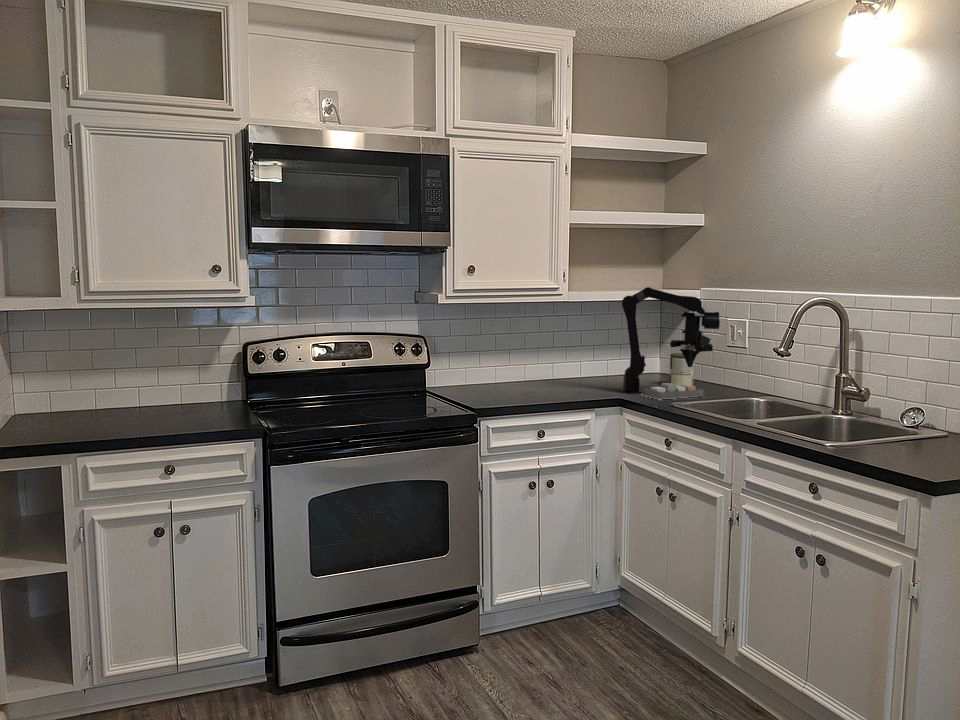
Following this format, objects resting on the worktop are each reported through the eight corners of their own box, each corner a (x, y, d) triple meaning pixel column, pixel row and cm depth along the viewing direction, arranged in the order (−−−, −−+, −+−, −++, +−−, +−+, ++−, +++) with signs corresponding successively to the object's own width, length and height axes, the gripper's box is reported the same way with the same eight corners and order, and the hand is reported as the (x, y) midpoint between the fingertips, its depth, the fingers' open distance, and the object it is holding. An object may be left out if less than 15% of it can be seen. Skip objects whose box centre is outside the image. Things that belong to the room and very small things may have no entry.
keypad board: (640, 395, 313) (640, 388, 313) (686, 393, 324) (686, 385, 324) (658, 400, 303) (659, 392, 303) (705, 397, 314) (705, 389, 314)
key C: (670, 393, 316) (671, 386, 315) (678, 392, 317) (678, 385, 317) (677, 395, 312) (678, 387, 312) (685, 394, 314) (685, 387, 314)
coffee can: (663, 385, 345) (665, 353, 343) (684, 384, 348) (686, 353, 346) (676, 388, 335) (678, 356, 333) (697, 388, 338) (699, 355, 336)
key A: (650, 394, 311) (650, 387, 310) (658, 394, 313) (658, 386, 312) (657, 396, 307) (657, 388, 307) (665, 395, 309) (665, 388, 309)
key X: (660, 390, 313) (661, 383, 313) (668, 390, 315) (669, 383, 314) (667, 392, 309) (668, 385, 309) (675, 392, 311) (675, 384, 311)
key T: (680, 392, 318) (681, 385, 318) (688, 392, 320) (688, 385, 319) (687, 394, 314) (688, 386, 314) (695, 393, 316) (695, 386, 316)
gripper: (724, 329, 310) (721, 369, 311) (691, 326, 326) (688, 363, 328) (702, 330, 304) (700, 370, 306) (670, 326, 321) (668, 364, 323)
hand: (689, 366), depth 316 cm, fingers closed
